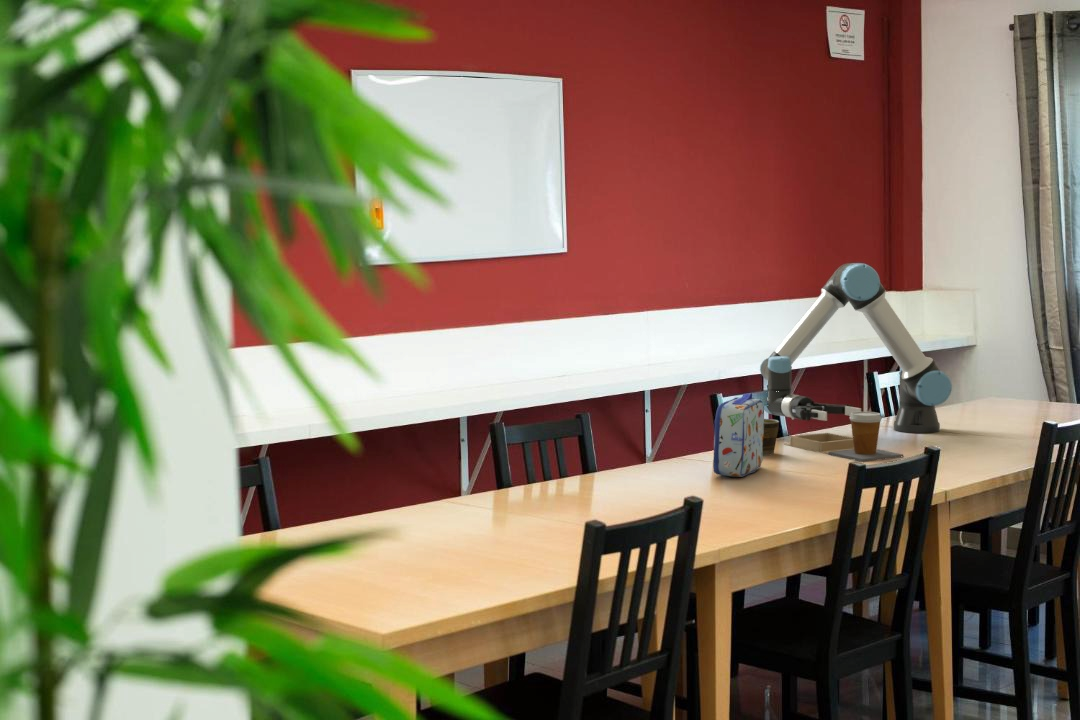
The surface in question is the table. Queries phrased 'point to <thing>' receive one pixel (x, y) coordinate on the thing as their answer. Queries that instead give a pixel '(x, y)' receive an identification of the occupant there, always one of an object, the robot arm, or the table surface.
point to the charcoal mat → (860, 457)
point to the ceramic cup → (769, 436)
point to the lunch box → (738, 436)
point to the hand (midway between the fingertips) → (843, 414)
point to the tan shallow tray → (822, 442)
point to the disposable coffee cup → (865, 431)
